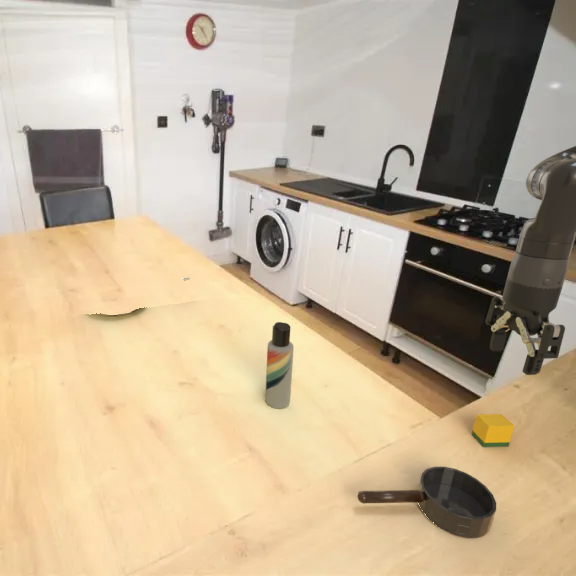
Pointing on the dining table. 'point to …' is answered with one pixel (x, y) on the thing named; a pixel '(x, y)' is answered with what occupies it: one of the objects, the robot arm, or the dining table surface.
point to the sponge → (492, 430)
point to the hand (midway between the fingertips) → (511, 361)
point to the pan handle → (391, 496)
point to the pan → (457, 502)
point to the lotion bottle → (279, 367)
